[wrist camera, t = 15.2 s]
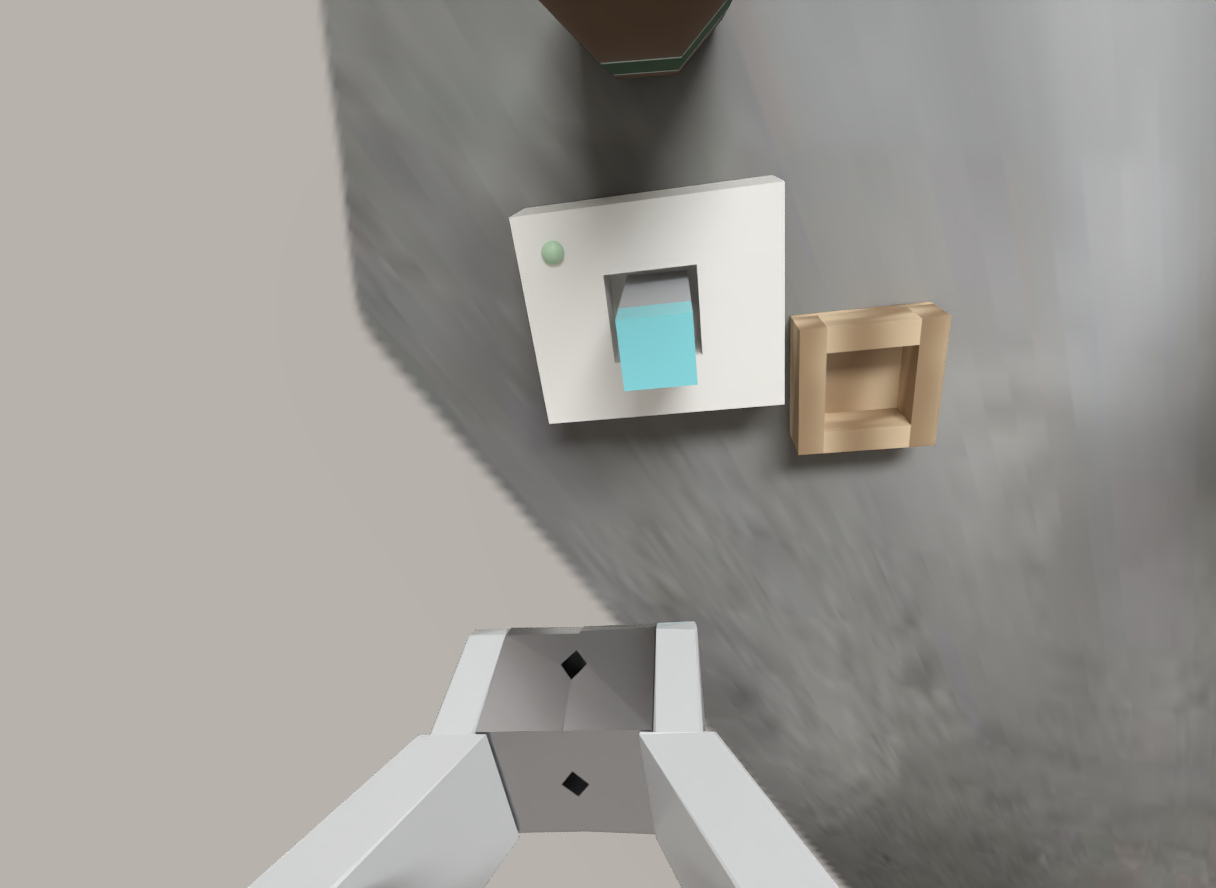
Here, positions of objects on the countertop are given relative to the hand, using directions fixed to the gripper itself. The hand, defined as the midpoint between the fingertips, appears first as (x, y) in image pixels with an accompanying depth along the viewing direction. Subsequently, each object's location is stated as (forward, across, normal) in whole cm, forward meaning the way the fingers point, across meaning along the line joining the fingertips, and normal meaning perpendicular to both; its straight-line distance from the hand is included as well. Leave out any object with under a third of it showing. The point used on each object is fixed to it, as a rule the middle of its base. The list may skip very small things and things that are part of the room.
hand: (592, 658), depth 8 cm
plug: (+30, 0, +3) cm, 30 cm away
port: (+31, 0, +3) cm, 31 cm away
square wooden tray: (+31, -12, +9) cm, 35 cm away
